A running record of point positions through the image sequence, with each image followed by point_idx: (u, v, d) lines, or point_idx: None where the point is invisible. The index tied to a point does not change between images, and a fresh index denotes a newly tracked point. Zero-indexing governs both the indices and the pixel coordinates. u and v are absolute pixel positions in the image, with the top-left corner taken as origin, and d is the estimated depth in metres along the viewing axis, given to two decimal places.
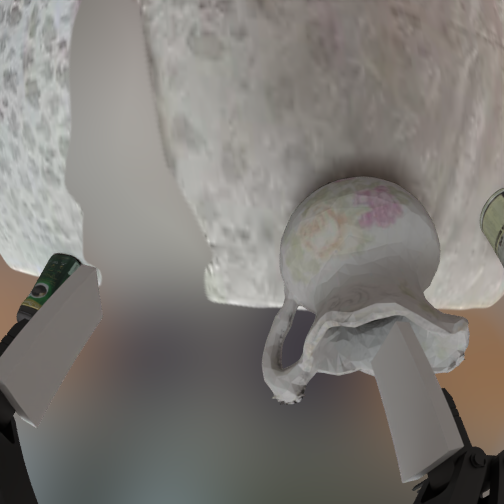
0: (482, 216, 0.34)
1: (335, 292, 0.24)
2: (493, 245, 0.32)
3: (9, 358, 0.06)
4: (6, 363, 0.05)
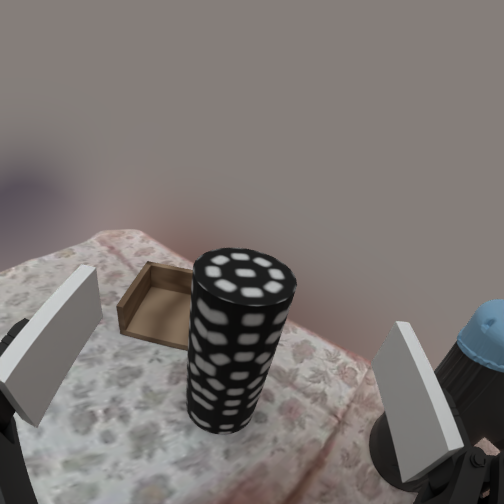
0: None
1: None
2: None
3: (9, 358, 0.06)
4: (6, 363, 0.05)
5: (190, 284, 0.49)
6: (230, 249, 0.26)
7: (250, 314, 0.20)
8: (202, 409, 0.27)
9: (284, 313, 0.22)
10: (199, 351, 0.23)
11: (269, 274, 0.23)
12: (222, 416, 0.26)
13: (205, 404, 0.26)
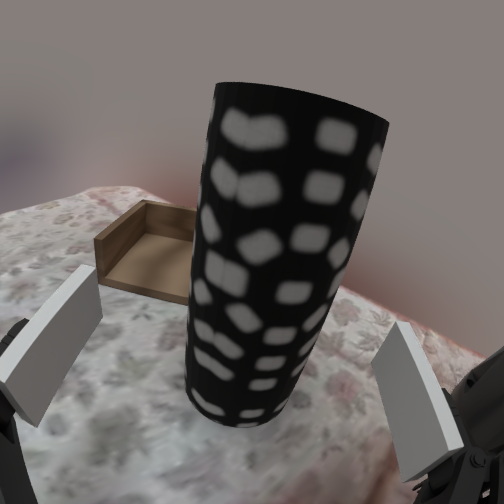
0: None
1: None
2: None
3: (9, 358, 0.06)
4: (6, 363, 0.05)
5: None
6: None
7: (333, 121, 0.09)
8: (212, 381, 0.16)
9: (379, 155, 0.11)
10: (216, 240, 0.12)
11: None
12: (248, 393, 0.15)
13: (218, 368, 0.15)
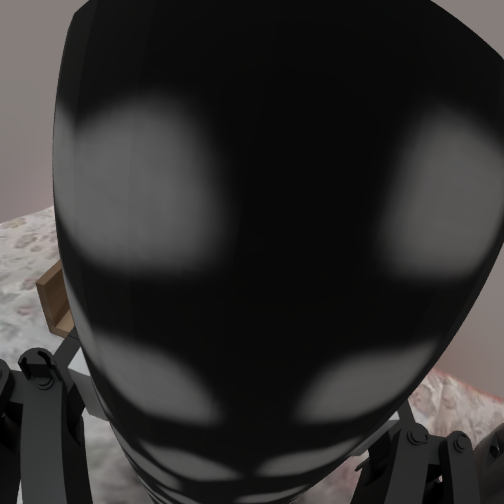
0: None
1: None
2: None
3: None
4: None
5: None
6: None
7: (468, 132, 0.01)
8: None
9: None
10: (108, 413, 0.05)
11: None
12: None
13: None
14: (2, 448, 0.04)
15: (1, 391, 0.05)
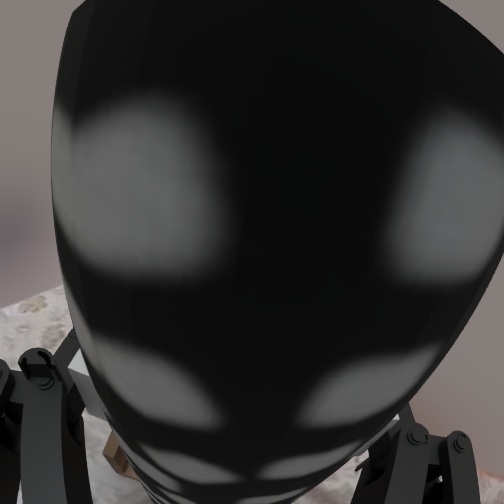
0: None
1: None
2: None
3: None
4: None
5: None
6: None
7: (474, 135, 0.01)
8: None
9: None
10: (108, 415, 0.05)
11: None
12: None
13: None
14: (2, 448, 0.04)
15: (1, 391, 0.05)
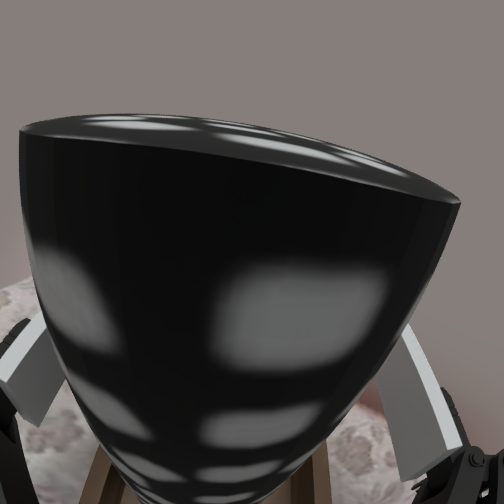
0: None
1: None
2: None
3: (11, 358, 0.06)
4: (8, 363, 0.06)
5: None
6: (202, 118, 0.08)
7: (294, 276, 0.02)
8: None
9: None
10: (88, 423, 0.05)
11: (332, 147, 0.06)
12: None
13: None
14: None
15: None
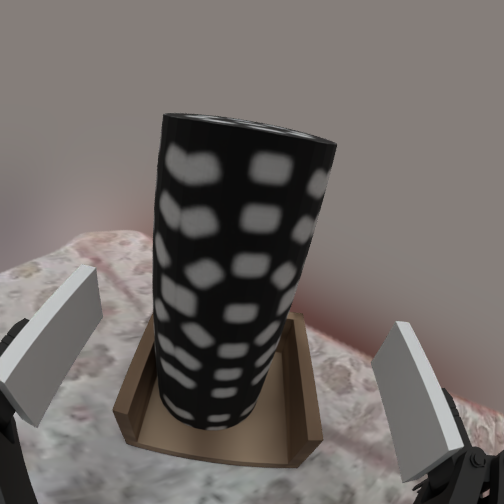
0: None
1: None
2: None
3: (9, 358, 0.06)
4: (6, 363, 0.05)
5: None
6: (225, 117, 0.16)
7: (267, 153, 0.10)
8: (178, 388, 0.16)
9: (323, 178, 0.12)
10: (167, 265, 0.13)
11: (289, 131, 0.13)
12: (211, 400, 0.16)
13: (182, 378, 0.16)
14: None
15: None
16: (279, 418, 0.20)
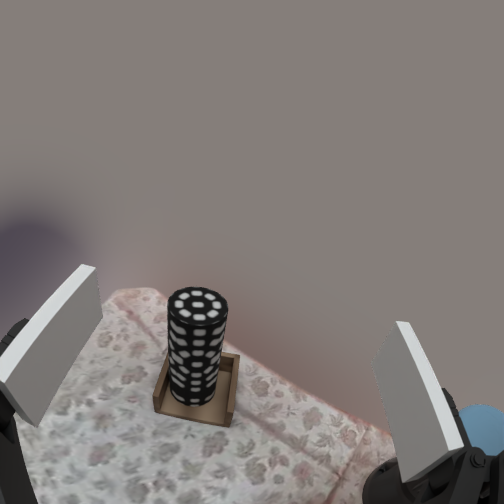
0: None
1: None
2: None
3: (9, 358, 0.06)
4: (6, 363, 0.05)
5: None
6: (191, 288, 0.41)
7: (197, 329, 0.35)
8: (178, 387, 0.42)
9: (219, 328, 0.37)
10: (173, 349, 0.38)
11: (212, 305, 0.39)
12: (190, 392, 0.42)
13: (179, 383, 0.41)
14: None
15: None
16: (223, 404, 0.46)
